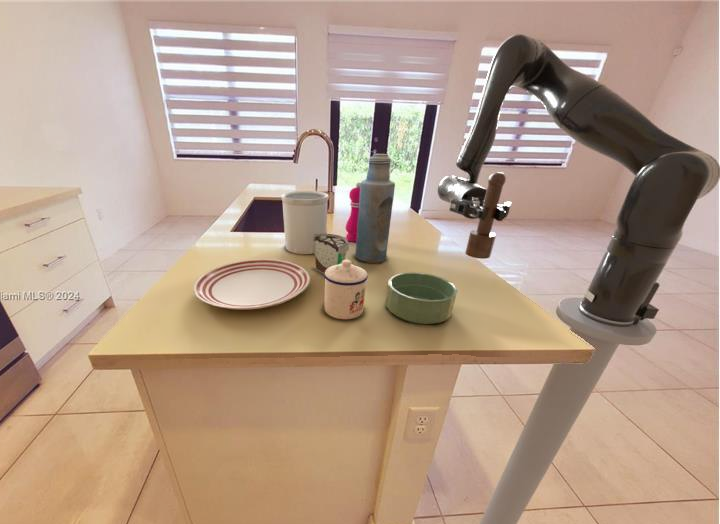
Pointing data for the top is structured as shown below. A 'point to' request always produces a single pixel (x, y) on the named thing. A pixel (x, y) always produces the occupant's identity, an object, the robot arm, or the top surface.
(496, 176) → the wooden pestle
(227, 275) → the dinner plate
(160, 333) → the top surface
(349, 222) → the pepper mill
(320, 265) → the slice of cake
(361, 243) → the bottle
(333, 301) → the teacup with lid
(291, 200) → the utensil holder
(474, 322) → the top surface
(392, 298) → the bowl
